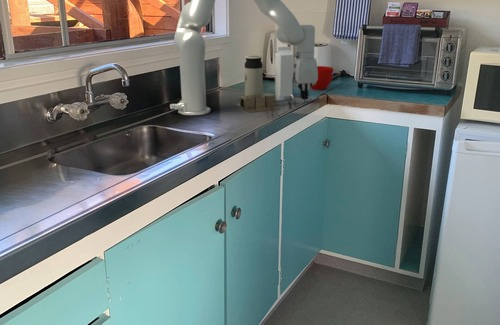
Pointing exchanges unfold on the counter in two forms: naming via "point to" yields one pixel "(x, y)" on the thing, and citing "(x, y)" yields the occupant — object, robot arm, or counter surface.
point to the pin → (285, 98)
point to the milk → (283, 71)
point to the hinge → (258, 102)
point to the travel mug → (253, 75)
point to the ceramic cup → (323, 78)
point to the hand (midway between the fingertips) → (304, 98)
